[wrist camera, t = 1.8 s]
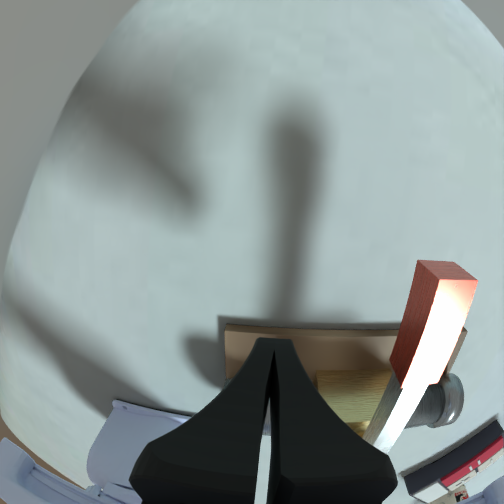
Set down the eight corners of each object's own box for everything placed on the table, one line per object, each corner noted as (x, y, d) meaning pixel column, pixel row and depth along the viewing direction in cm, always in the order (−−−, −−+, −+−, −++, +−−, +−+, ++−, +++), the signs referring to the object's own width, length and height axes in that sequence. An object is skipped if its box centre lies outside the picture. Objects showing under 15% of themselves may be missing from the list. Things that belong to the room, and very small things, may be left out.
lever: (333, 466, 14) (335, 488, 12) (408, 259, 9) (429, 279, 8) (371, 462, 14) (374, 483, 12) (461, 262, 9) (485, 280, 7)
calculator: (506, 454, 20) (426, 507, 23) (496, 437, 24) (420, 488, 28) (507, 434, 18) (409, 499, 21) (493, 414, 22) (402, 476, 26)
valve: (230, 407, 21) (218, 466, 15) (229, 361, 19) (213, 426, 14) (428, 402, 19) (448, 450, 14) (450, 358, 18) (481, 407, 12)
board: (229, 423, 22) (228, 430, 21) (226, 324, 19) (224, 330, 18) (417, 418, 21) (419, 424, 20) (462, 325, 17) (467, 331, 16)
